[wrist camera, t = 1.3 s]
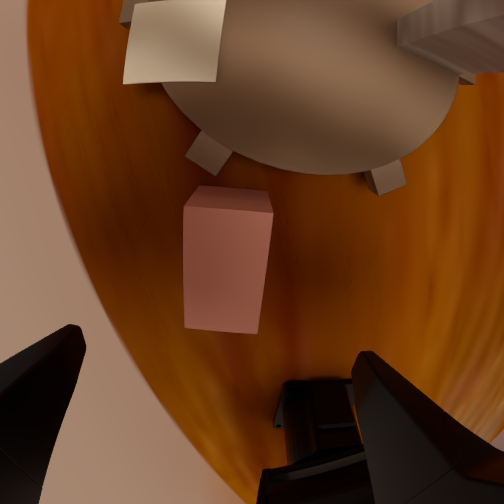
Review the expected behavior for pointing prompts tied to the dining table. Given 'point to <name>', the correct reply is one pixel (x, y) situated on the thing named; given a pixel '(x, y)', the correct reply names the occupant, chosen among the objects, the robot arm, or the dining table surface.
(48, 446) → the robot arm
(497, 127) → the dining table surface
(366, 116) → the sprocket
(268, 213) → the dusty pink block
